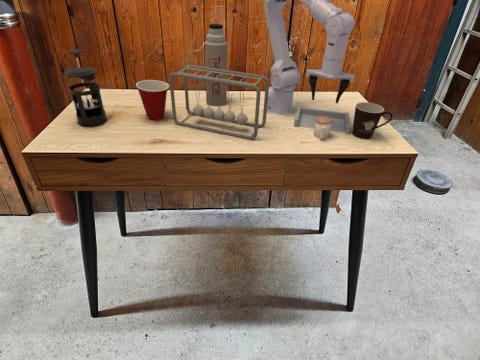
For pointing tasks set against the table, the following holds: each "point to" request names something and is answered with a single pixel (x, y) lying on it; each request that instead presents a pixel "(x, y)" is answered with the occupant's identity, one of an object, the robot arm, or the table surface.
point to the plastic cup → (153, 98)
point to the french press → (87, 105)
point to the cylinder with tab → (322, 127)
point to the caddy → (308, 116)
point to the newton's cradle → (220, 113)
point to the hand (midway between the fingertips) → (324, 100)
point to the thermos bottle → (216, 64)
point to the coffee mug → (367, 119)
